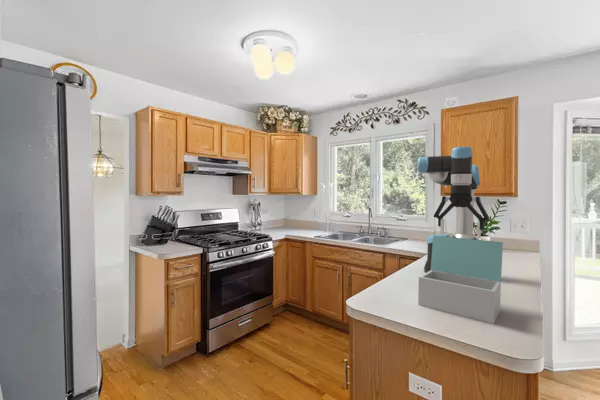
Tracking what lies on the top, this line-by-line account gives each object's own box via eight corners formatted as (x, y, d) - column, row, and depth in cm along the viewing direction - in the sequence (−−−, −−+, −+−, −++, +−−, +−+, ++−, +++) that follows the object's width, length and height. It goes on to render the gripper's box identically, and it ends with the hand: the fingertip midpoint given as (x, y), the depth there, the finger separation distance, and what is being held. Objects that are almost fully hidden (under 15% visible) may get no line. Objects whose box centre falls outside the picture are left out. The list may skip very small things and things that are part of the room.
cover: (430, 269, 135) (431, 269, 137) (500, 281, 118) (501, 281, 119) (433, 235, 137) (434, 235, 139) (502, 242, 119) (503, 242, 121)
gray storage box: (430, 295, 136) (431, 270, 136) (500, 310, 118) (500, 282, 118) (418, 304, 124) (418, 277, 124) (493, 323, 106) (494, 291, 106)
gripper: (426, 184, 126) (425, 233, 126) (495, 184, 109) (494, 240, 110) (432, 185, 131) (431, 232, 132) (498, 184, 115) (497, 238, 115)
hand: (459, 236), depth 121 cm, fingers open, 13 cm apart
